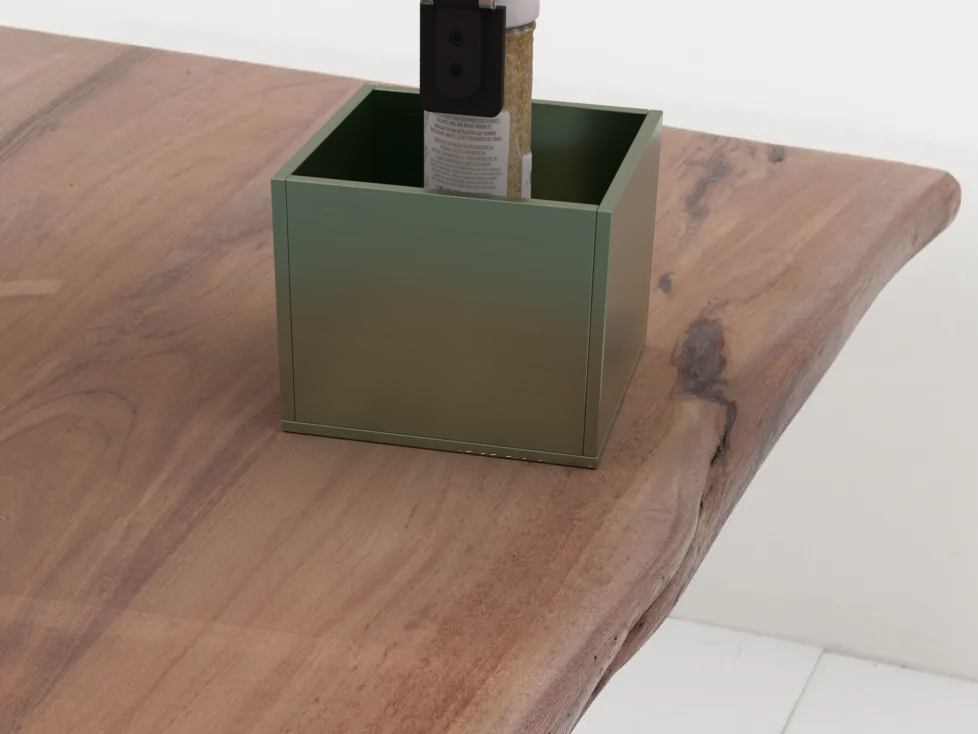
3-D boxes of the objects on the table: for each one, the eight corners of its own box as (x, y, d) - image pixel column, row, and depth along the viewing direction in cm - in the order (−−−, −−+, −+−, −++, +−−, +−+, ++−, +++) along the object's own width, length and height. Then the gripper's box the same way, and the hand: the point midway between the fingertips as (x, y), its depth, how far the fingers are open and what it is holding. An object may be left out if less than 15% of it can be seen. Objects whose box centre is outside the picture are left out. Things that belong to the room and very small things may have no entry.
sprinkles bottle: (549, 297, 80) (564, -39, 72) (486, 330, 77) (495, -17, 69) (462, 272, 82) (468, -57, 74) (398, 302, 79) (397, -37, 71)
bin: (281, 431, 78) (269, 177, 72) (367, 312, 88) (363, 83, 82) (596, 469, 76) (612, 211, 70) (646, 343, 86) (663, 110, 80)
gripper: (439, -468, 71) (436, 32, 82) (308, -447, 58) (325, 149, 69) (635, -460, 70) (606, 46, 81) (547, -436, 57) (526, 168, 67)
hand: (477, 88), depth 75 cm, fingers closed on sprinkles bottle, 4 cm apart
